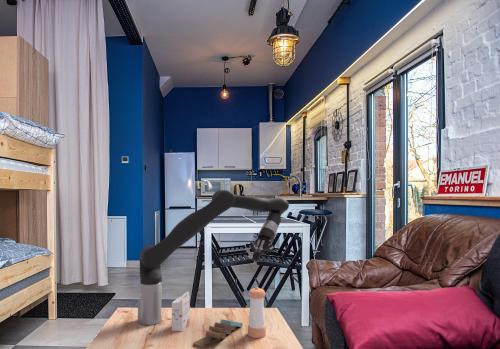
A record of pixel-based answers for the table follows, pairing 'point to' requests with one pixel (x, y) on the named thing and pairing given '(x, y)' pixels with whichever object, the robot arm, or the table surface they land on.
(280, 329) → the table surface
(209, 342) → the walnut tile
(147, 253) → the robot arm
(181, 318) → the ink cartridge box
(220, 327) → the walnut tile
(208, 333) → the walnut tile
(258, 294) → the pepper shaker
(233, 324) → the teal tile
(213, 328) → the walnut tile
